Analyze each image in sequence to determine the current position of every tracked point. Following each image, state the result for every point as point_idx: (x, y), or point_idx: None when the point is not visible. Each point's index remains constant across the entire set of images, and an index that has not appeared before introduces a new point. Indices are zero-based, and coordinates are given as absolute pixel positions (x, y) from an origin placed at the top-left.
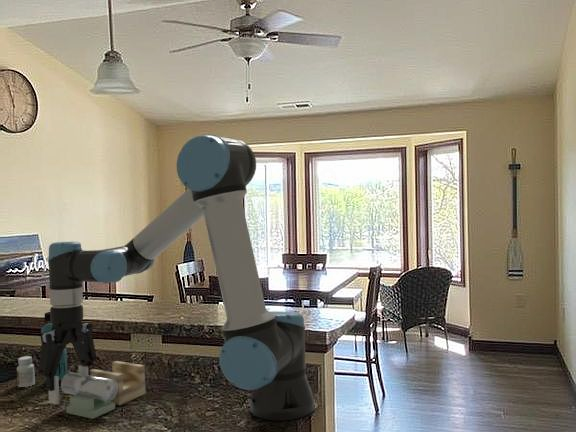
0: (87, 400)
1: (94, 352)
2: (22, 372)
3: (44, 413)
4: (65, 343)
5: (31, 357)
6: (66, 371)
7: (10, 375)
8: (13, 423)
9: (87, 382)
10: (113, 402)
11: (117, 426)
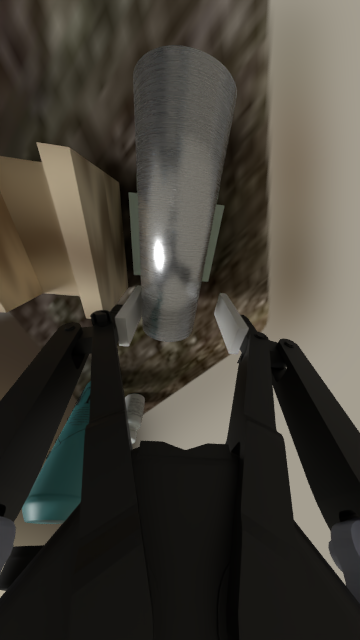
0: (219, 209)
1: (51, 345)
2: (139, 417)
3: (209, 315)
4: (257, 457)
5: None
6: (89, 386)
7: None
8: None
9: (204, 230)
10: None
11: (259, 11)
